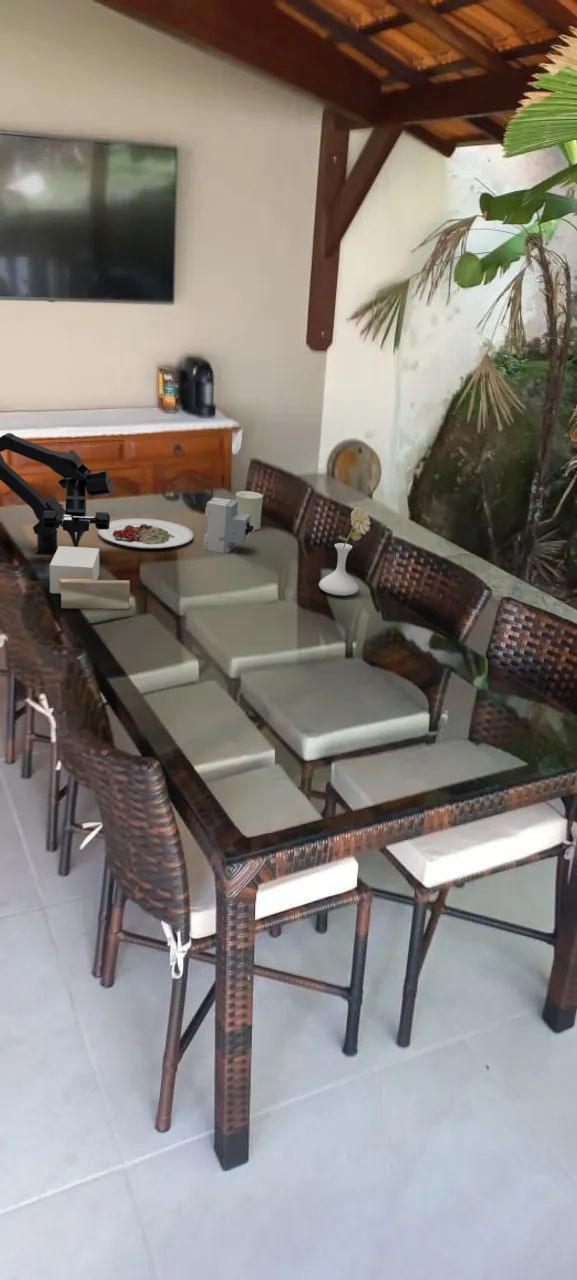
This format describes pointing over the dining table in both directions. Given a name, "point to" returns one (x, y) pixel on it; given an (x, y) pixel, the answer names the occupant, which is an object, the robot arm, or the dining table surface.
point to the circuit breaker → (225, 525)
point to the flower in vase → (339, 578)
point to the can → (250, 506)
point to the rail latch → (69, 579)
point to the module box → (73, 565)
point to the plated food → (146, 533)
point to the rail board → (95, 594)
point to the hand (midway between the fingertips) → (75, 547)
